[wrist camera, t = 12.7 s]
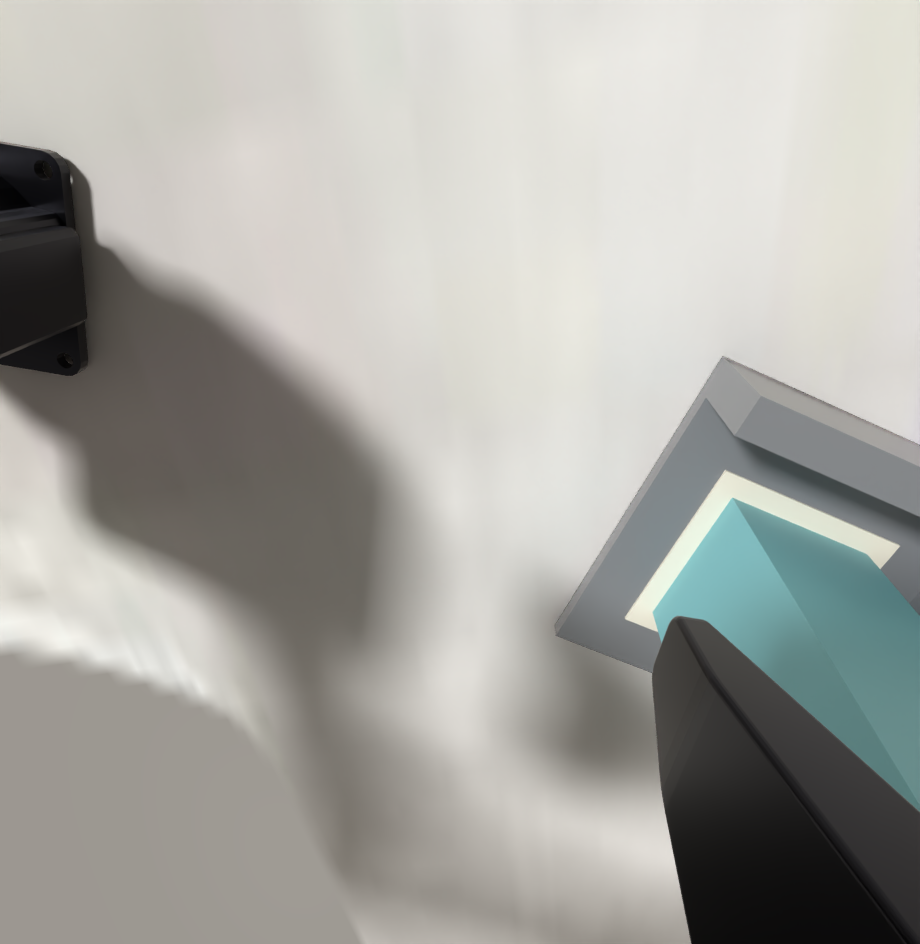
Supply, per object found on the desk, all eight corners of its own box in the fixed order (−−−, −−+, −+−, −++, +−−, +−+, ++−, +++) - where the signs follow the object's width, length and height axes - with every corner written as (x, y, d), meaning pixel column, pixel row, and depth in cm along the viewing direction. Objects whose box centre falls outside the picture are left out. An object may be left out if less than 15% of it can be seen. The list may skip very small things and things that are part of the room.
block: (652, 612, 24) (777, 1040, 12) (732, 497, 21) (971, 889, 10) (777, 661, 24) (1005, 1113, 13) (867, 554, 22) (1234, 986, 11)
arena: (555, 625, 25) (561, 694, 22) (722, 356, 20) (761, 395, 17) (815, 726, 26) (856, 806, 23) (1032, 495, 21) (1121, 557, 18)
